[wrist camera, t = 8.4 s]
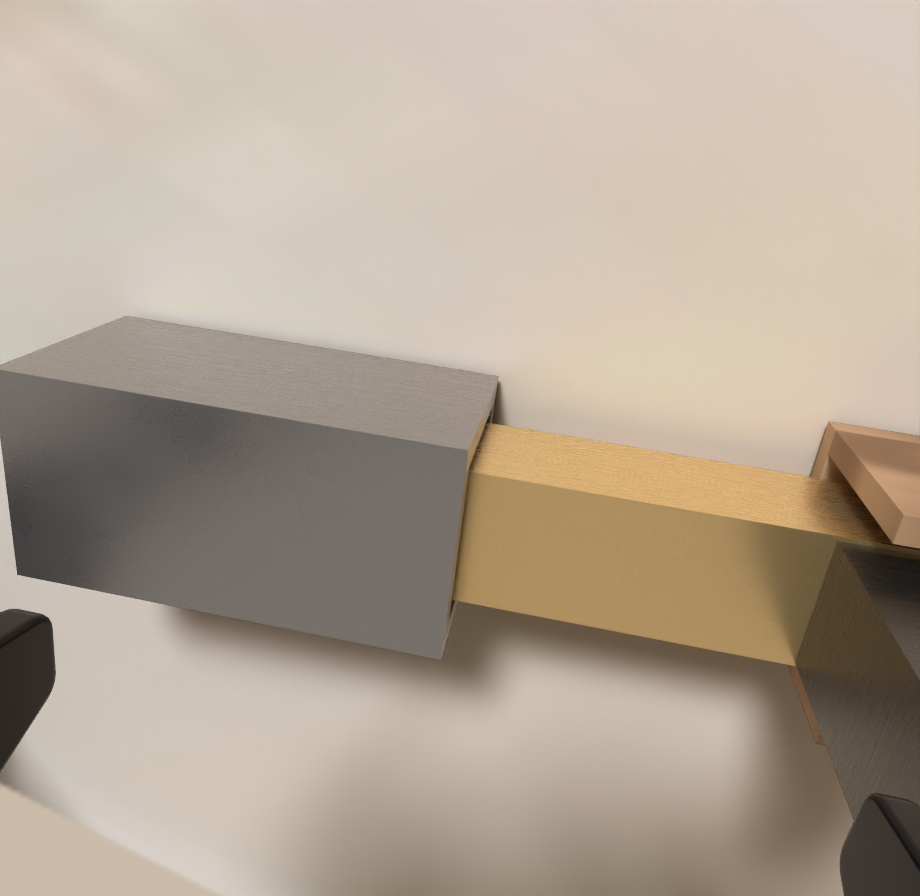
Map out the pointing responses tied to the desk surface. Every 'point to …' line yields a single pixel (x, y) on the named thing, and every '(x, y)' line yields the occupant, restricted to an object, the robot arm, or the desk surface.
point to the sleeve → (244, 477)
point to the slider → (710, 576)
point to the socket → (872, 492)
